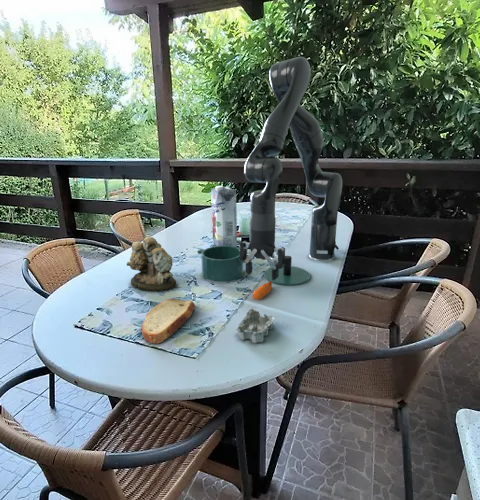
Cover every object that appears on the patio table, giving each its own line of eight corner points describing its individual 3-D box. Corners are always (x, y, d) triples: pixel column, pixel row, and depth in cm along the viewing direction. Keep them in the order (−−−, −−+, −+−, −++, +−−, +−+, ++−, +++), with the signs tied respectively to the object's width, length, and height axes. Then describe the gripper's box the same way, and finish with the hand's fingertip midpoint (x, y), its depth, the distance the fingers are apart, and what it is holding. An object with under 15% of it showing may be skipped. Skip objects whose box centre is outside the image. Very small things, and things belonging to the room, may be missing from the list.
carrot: (266, 287, 121) (266, 278, 120) (275, 289, 119) (275, 280, 118) (250, 300, 113) (250, 291, 112) (260, 303, 111) (260, 293, 110)
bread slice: (147, 347, 92) (146, 334, 91) (131, 314, 108) (130, 303, 107) (212, 329, 99) (211, 317, 98) (188, 301, 114) (187, 290, 113)
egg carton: (251, 319, 103) (251, 306, 102) (276, 326, 99) (277, 312, 98) (233, 337, 95) (233, 324, 93) (260, 346, 91) (260, 332, 89)
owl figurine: (121, 287, 126) (114, 240, 120) (138, 274, 136) (133, 230, 130) (168, 294, 120) (163, 245, 114) (182, 279, 130) (179, 234, 124)
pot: (211, 262, 144) (210, 242, 141) (256, 272, 133) (256, 251, 130) (188, 276, 133) (187, 254, 130) (235, 288, 122) (235, 264, 119)
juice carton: (229, 242, 166) (228, 182, 157) (238, 249, 157) (238, 186, 147) (211, 245, 163) (209, 184, 154) (219, 252, 154) (217, 188, 145)
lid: (276, 265, 138) (276, 246, 136) (316, 274, 129) (317, 253, 127) (256, 280, 126) (256, 260, 124) (299, 291, 118) (300, 269, 115)
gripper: (290, 226, 107) (288, 277, 112) (247, 220, 115) (247, 268, 120) (279, 233, 101) (277, 286, 106) (235, 226, 109) (235, 276, 114)
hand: (261, 276), depth 113 cm, fingers open, 8 cm apart
